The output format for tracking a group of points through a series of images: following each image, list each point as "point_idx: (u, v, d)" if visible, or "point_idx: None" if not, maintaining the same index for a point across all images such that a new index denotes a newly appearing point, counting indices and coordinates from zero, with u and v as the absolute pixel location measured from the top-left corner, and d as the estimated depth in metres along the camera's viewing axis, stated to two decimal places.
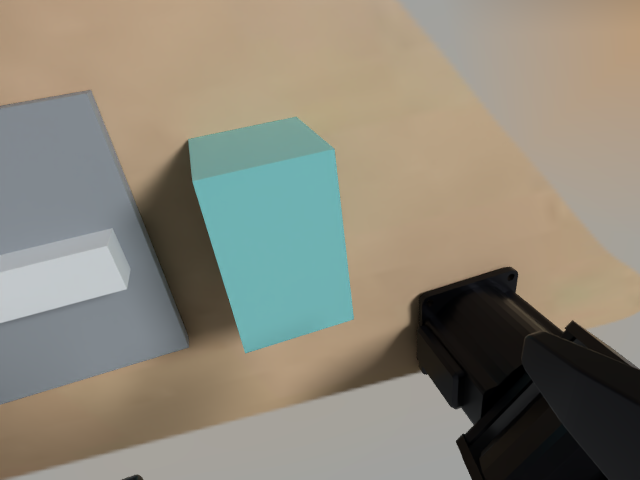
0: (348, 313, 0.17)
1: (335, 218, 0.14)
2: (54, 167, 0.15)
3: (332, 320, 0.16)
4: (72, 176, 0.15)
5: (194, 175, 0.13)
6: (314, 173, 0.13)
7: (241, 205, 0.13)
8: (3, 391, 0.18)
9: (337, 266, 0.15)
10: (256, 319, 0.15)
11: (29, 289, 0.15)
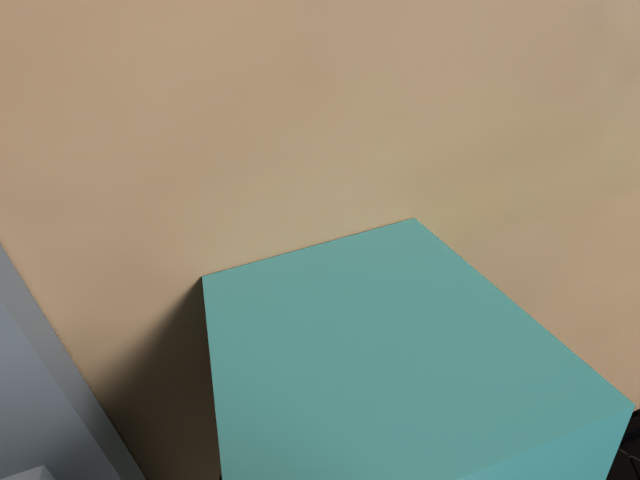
0: None
1: None
2: None
3: None
4: None
5: None
6: (566, 465, 0.05)
7: None
8: None
9: None
10: None
11: None
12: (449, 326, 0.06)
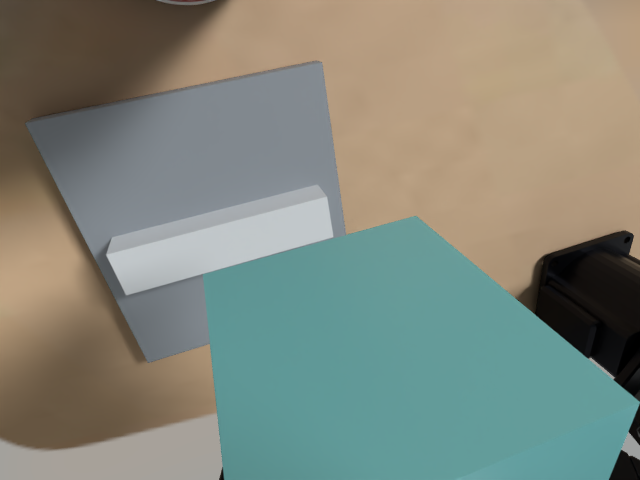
0: None
1: None
2: (284, 128, 0.17)
3: None
4: (296, 136, 0.17)
5: None
6: (571, 463, 0.05)
7: None
8: (205, 334, 0.21)
9: None
10: None
11: (261, 234, 0.17)
12: (451, 323, 0.06)
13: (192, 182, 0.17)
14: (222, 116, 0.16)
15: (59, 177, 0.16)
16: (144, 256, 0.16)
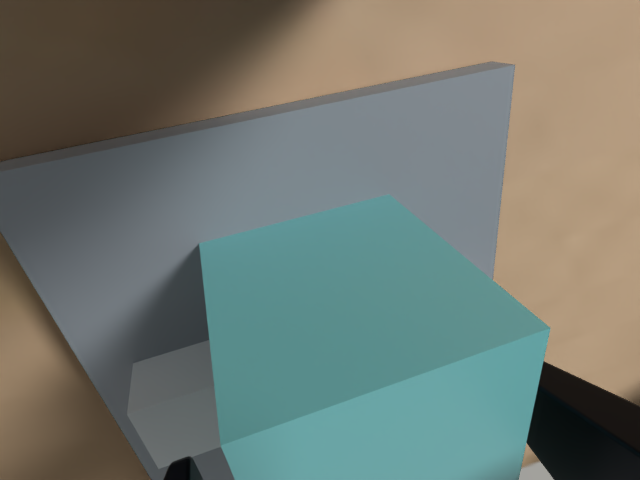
0: None
1: (515, 443, 0.07)
2: (435, 177, 0.10)
3: None
4: (450, 189, 0.10)
5: (223, 410, 0.05)
6: (497, 379, 0.06)
7: (332, 463, 0.06)
8: None
9: None
10: None
11: None
12: (408, 276, 0.07)
13: None
14: (340, 159, 0.09)
15: (39, 274, 0.08)
16: (195, 409, 0.09)
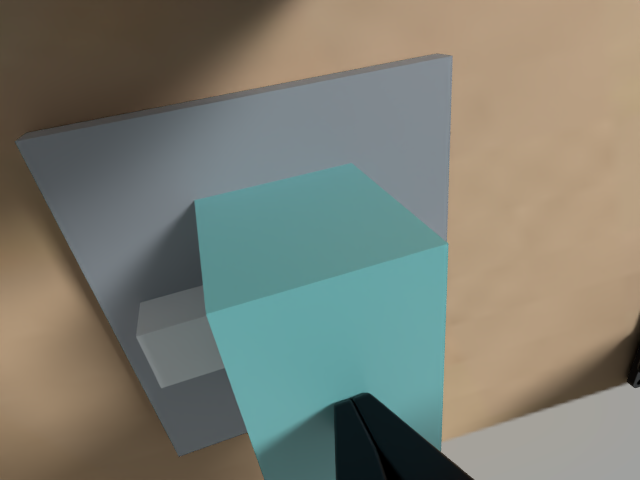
0: None
1: (435, 343, 0.09)
2: (390, 149, 0.12)
3: None
4: (404, 160, 0.12)
5: (208, 296, 0.07)
6: (411, 283, 0.08)
7: (289, 341, 0.08)
8: None
9: (428, 405, 0.10)
10: None
11: None
12: (354, 216, 0.09)
13: None
14: (309, 132, 0.11)
15: (66, 222, 0.10)
16: (191, 335, 0.11)
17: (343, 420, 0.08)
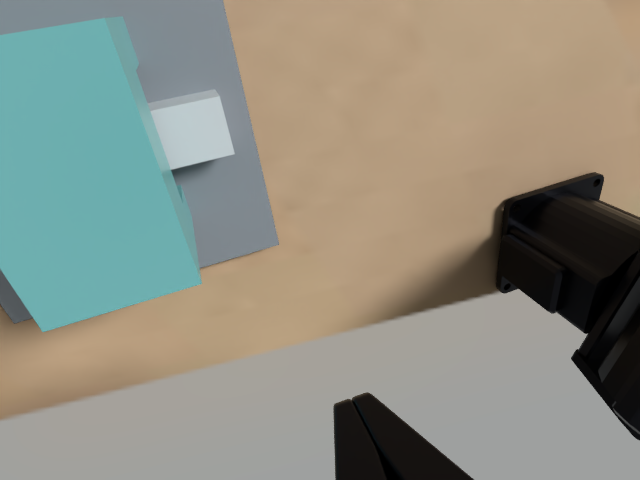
0: (191, 275, 0.12)
1: (135, 133, 0.10)
2: (160, 4, 0.13)
3: (169, 285, 0.12)
4: (178, 18, 0.13)
5: None
6: (80, 58, 0.09)
7: None
8: None
9: (157, 206, 0.11)
10: (46, 283, 0.11)
11: None
12: None
13: None
14: None
15: None
16: None
17: (342, 420, 0.08)
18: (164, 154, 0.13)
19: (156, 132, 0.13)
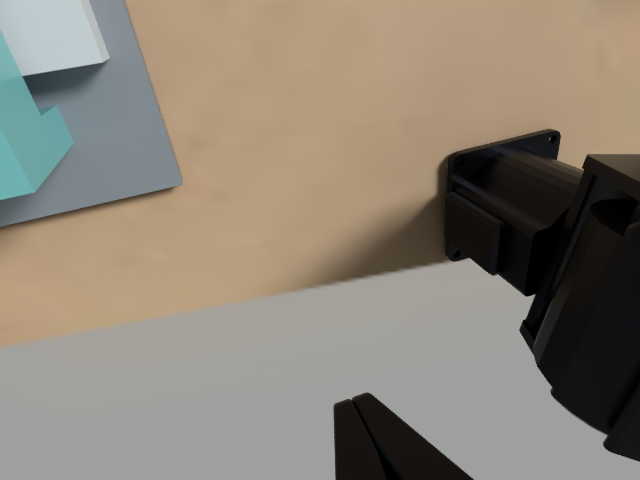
0: (19, 180, 0.11)
1: None
2: None
3: None
4: None
5: None
6: None
7: None
8: None
9: None
10: None
11: None
12: None
13: None
14: None
15: None
16: None
17: (342, 421, 0.08)
18: (4, 48, 0.11)
19: None
